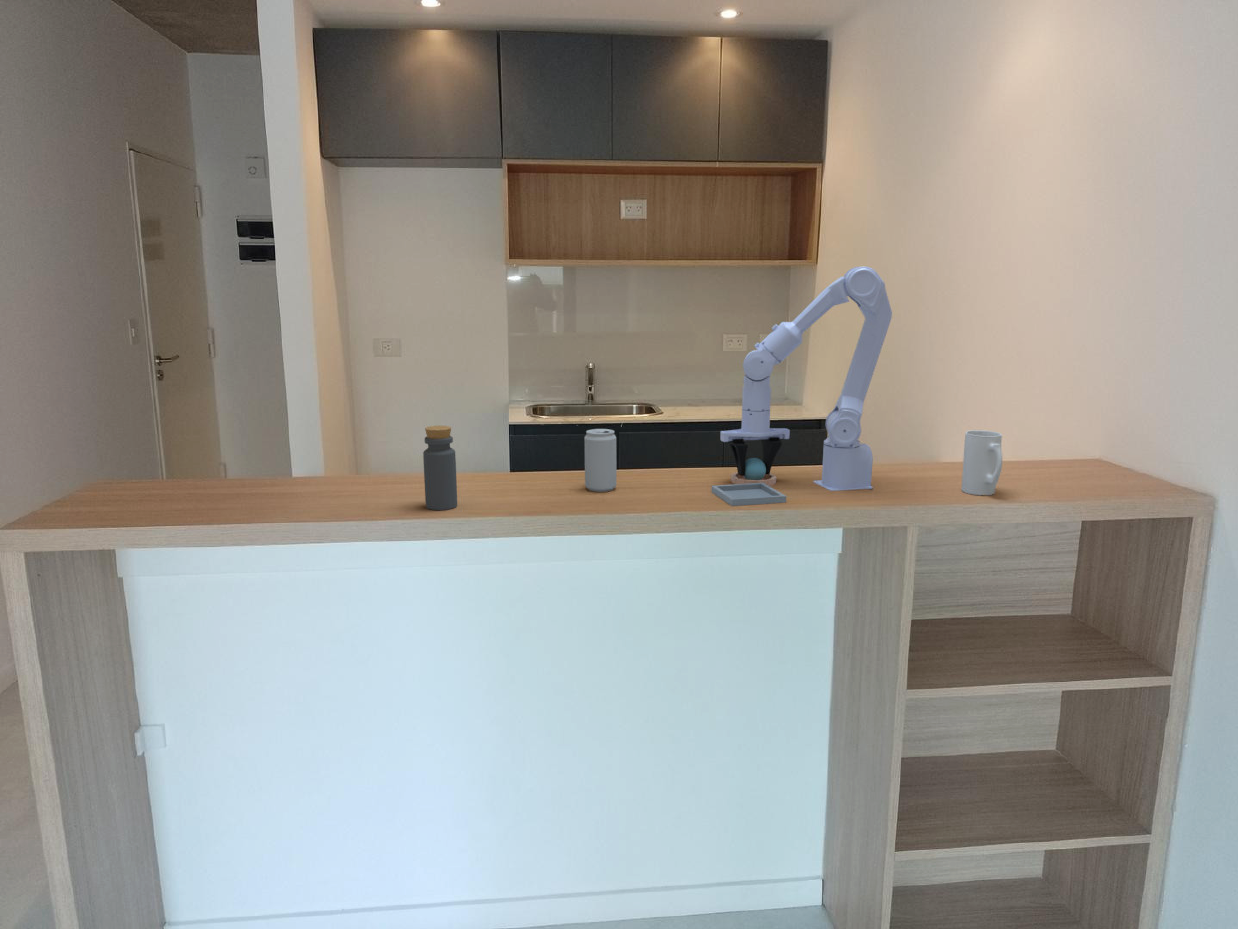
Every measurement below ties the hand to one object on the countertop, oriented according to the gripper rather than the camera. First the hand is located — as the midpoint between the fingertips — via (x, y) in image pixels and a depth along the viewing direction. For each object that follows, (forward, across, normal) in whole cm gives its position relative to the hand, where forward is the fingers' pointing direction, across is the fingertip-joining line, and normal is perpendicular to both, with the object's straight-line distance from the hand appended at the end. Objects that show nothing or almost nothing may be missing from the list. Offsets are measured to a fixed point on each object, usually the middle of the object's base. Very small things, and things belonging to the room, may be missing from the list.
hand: (753, 474), depth 180 cm
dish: (+2, 0, 0) cm, 2 cm away
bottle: (+2, +64, +3) cm, 64 cm away
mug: (+2, -41, +19) cm, 45 cm away
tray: (+2, +6, +12) cm, 13 cm away
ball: (+2, 0, 0) cm, 2 cm away
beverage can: (+2, +32, -3) cm, 32 cm away
